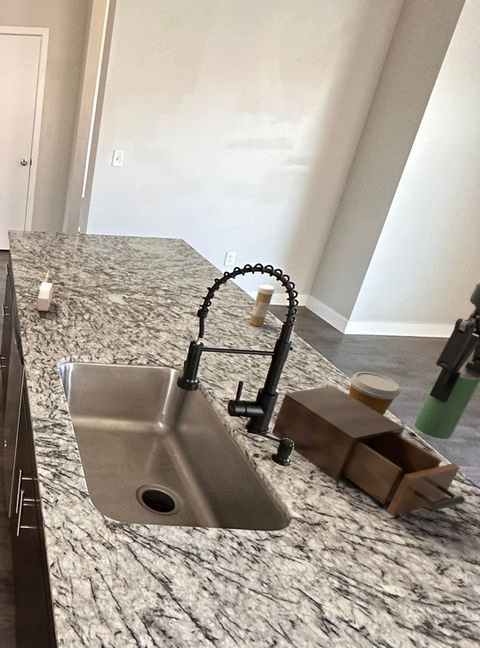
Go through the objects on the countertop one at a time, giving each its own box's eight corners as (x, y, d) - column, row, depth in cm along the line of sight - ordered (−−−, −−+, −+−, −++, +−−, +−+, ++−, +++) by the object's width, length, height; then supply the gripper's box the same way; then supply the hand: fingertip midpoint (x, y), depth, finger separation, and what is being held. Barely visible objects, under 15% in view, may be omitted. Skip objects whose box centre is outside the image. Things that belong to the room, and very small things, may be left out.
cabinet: (384, 469, 114) (404, 427, 109) (335, 480, 110) (354, 438, 105) (317, 424, 128) (332, 385, 124) (271, 432, 124) (285, 393, 120)
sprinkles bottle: (248, 320, 183) (259, 283, 178) (263, 323, 182) (274, 285, 176) (248, 324, 180) (259, 287, 174) (263, 328, 178) (275, 290, 172)
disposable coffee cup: (389, 427, 128) (408, 384, 123) (371, 440, 123) (391, 396, 118) (346, 408, 135) (363, 367, 130) (328, 419, 130) (344, 377, 125)
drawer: (463, 519, 100) (485, 482, 96) (415, 532, 97) (435, 495, 93) (365, 453, 117) (380, 419, 113) (320, 463, 114) (334, 428, 110)
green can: (458, 436, 108) (490, 376, 102) (437, 441, 106) (468, 380, 100) (427, 419, 113) (456, 362, 107) (407, 423, 112) (435, 365, 106)
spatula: (57, 285, 213) (47, 284, 214) (59, 265, 210) (49, 264, 211) (48, 314, 178) (36, 313, 179) (51, 291, 175) (38, 290, 176)
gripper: (516, 276, 102) (462, 380, 112) (446, 283, 97) (396, 392, 107) (565, 291, 96) (503, 400, 106) (493, 299, 90) (435, 413, 100)
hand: (449, 396), depth 106 cm, fingers closed on green can, 6 cm apart
